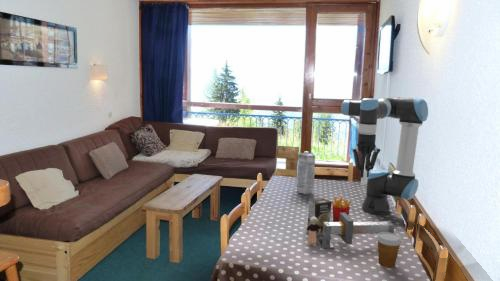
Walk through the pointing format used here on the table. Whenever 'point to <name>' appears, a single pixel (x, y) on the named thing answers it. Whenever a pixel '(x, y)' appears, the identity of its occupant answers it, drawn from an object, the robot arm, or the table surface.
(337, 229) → the grey crossbar beam
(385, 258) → the disposable coffee cup
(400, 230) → the table surface
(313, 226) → the grandmother figurine
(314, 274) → the table surface
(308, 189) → the juice carton
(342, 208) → the french fries
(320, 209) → the coffee box
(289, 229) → the table surface
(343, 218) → the grey flat piece
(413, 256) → the table surface
